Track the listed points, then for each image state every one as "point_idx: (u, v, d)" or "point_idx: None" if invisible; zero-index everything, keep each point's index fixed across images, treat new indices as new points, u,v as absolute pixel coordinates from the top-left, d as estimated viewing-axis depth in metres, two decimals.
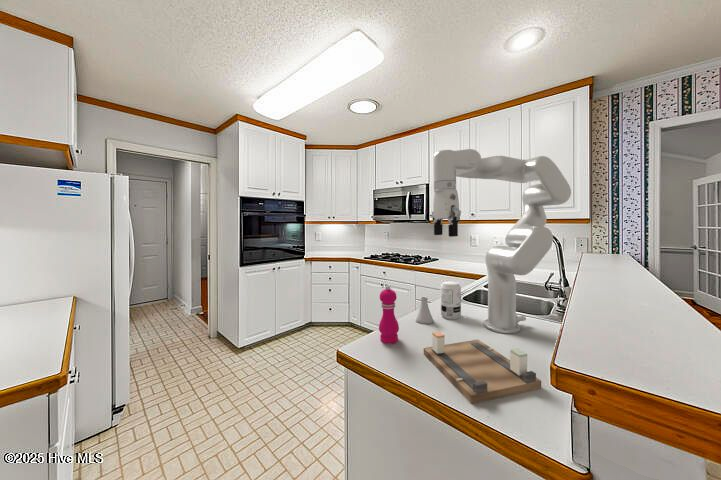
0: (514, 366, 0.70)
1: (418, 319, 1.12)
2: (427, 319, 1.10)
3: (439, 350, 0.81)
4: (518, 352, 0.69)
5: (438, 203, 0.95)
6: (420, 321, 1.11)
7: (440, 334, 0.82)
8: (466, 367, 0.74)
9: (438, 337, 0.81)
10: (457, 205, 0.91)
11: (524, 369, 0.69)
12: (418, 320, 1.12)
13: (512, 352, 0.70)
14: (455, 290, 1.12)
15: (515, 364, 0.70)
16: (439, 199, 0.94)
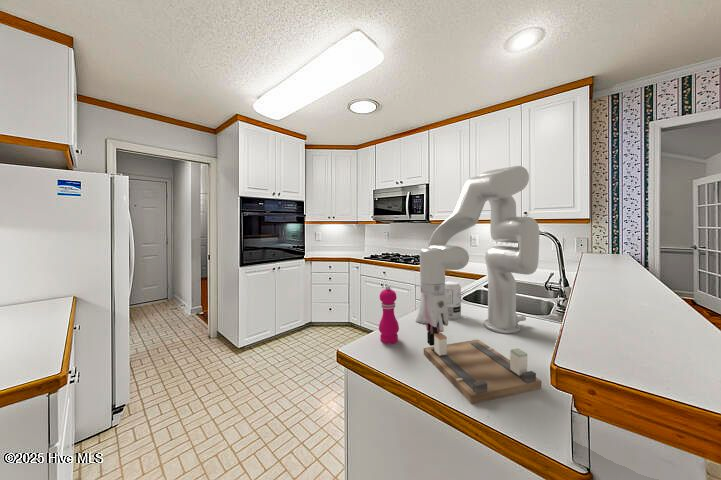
0: (514, 366, 0.70)
1: (418, 319, 1.12)
2: None
3: (441, 352, 0.80)
4: (518, 352, 0.69)
5: (425, 305, 0.84)
6: (420, 321, 1.11)
7: (442, 336, 0.80)
8: (466, 367, 0.74)
9: (440, 339, 0.79)
10: (446, 313, 0.80)
11: (524, 369, 0.69)
12: (418, 320, 1.12)
13: (512, 352, 0.70)
14: (455, 290, 1.12)
15: (515, 364, 0.70)
16: (426, 302, 0.83)
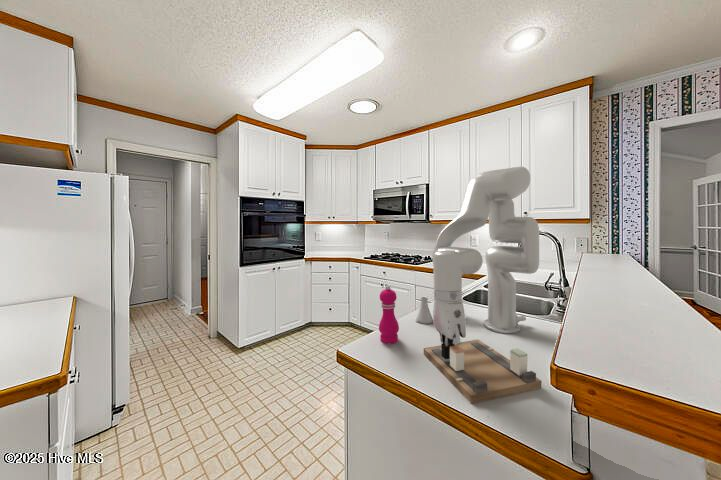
0: (514, 366, 0.70)
1: (418, 319, 1.12)
2: (427, 319, 1.10)
3: (458, 367, 0.71)
4: (518, 352, 0.69)
5: (439, 314, 0.76)
6: (420, 321, 1.11)
7: (459, 349, 0.72)
8: (466, 367, 0.74)
9: (457, 352, 0.71)
10: (463, 323, 0.72)
11: (524, 369, 0.69)
12: (418, 320, 1.12)
13: (512, 352, 0.70)
14: None
15: (515, 364, 0.70)
16: (440, 311, 0.75)
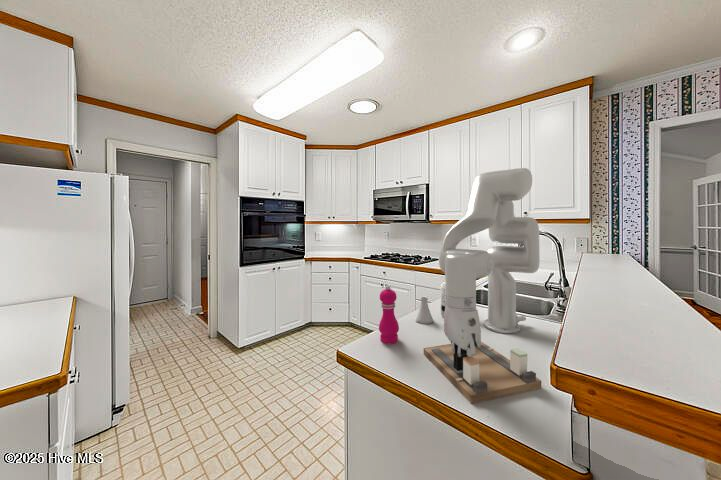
0: (514, 366, 0.70)
1: (418, 319, 1.12)
2: (427, 319, 1.10)
3: (473, 380, 0.66)
4: (518, 352, 0.69)
5: (451, 322, 0.70)
6: (420, 321, 1.11)
7: (474, 360, 0.66)
8: None
9: (472, 364, 0.65)
10: (478, 332, 0.66)
11: (524, 369, 0.69)
12: (418, 320, 1.12)
13: (512, 352, 0.70)
14: None
15: (515, 364, 0.70)
16: (453, 318, 0.69)
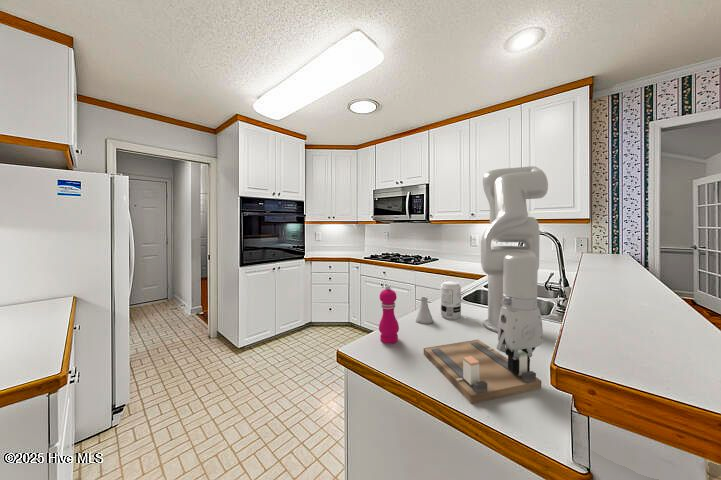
0: None
1: (418, 319, 1.12)
2: (427, 319, 1.10)
3: (473, 380, 0.66)
4: (518, 352, 0.69)
5: None
6: (420, 321, 1.11)
7: (474, 360, 0.66)
8: None
9: (472, 364, 0.65)
10: (507, 332, 0.67)
11: (524, 369, 0.69)
12: (418, 320, 1.12)
13: None
14: (455, 290, 1.12)
15: None
16: None
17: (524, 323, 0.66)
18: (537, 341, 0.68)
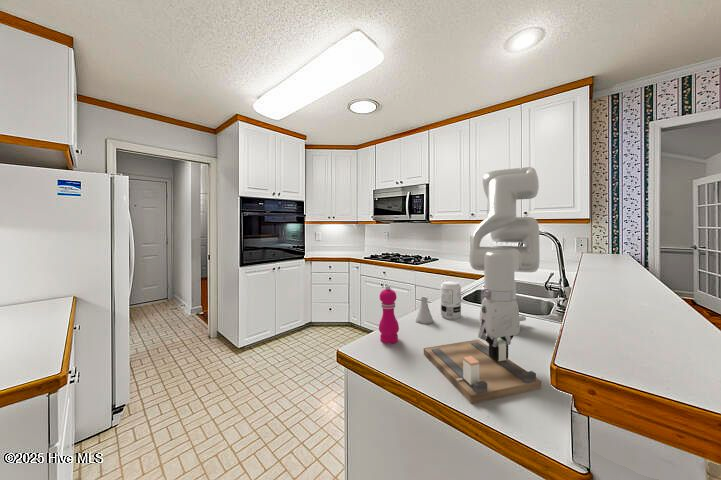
0: None
1: (418, 319, 1.12)
2: (427, 319, 1.10)
3: (473, 380, 0.66)
4: (498, 340, 0.76)
5: None
6: (420, 321, 1.11)
7: (474, 360, 0.66)
8: None
9: (472, 364, 0.65)
10: (487, 322, 0.73)
11: (503, 355, 0.76)
12: (418, 320, 1.12)
13: None
14: (455, 290, 1.12)
15: None
16: None
17: (502, 313, 0.73)
18: (514, 330, 0.75)
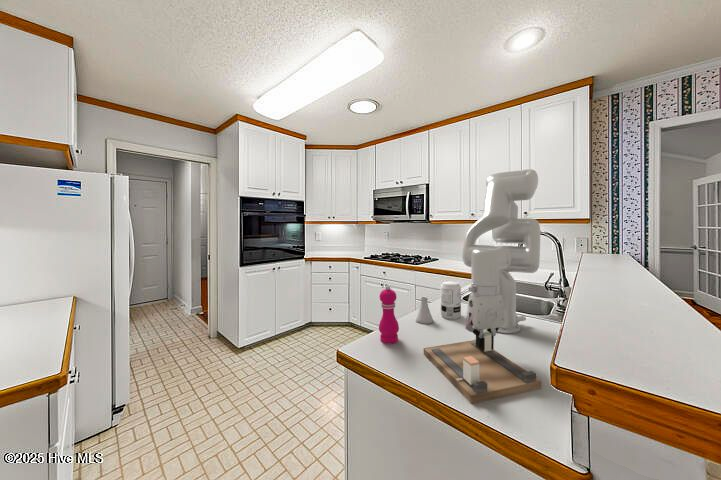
0: None
1: (418, 319, 1.12)
2: (427, 319, 1.10)
3: (473, 380, 0.66)
4: (484, 332, 0.82)
5: None
6: (420, 321, 1.11)
7: (474, 360, 0.66)
8: None
9: (472, 364, 0.65)
10: (474, 314, 0.79)
11: (489, 346, 0.81)
12: (418, 320, 1.12)
13: None
14: (455, 290, 1.12)
15: None
16: None
17: (487, 306, 0.79)
18: (499, 322, 0.80)
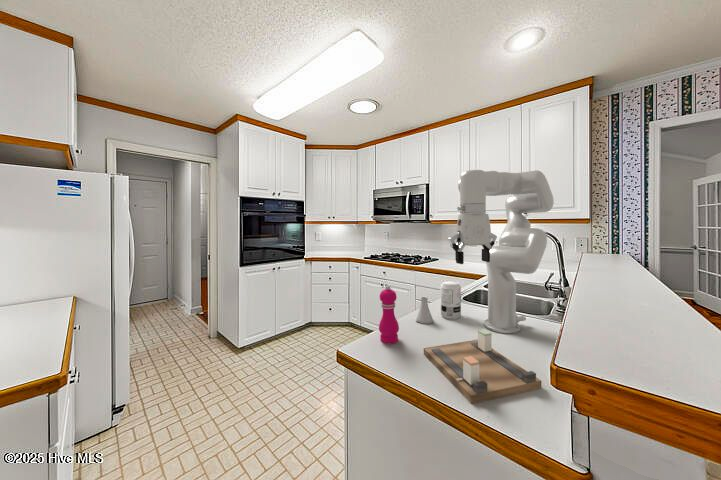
0: (481, 344, 0.83)
1: (418, 319, 1.12)
2: (427, 319, 1.10)
3: (473, 380, 0.66)
4: (484, 332, 0.82)
5: None
6: (420, 321, 1.11)
7: (474, 360, 0.66)
8: None
9: (472, 364, 0.65)
10: (462, 231, 0.84)
11: (489, 346, 0.81)
12: (418, 320, 1.11)
13: (479, 332, 0.83)
14: (455, 290, 1.12)
15: (481, 342, 0.82)
16: None
17: (475, 223, 0.84)
18: (486, 239, 0.85)
